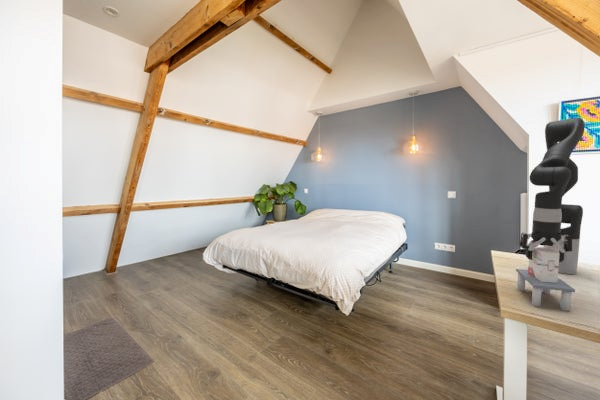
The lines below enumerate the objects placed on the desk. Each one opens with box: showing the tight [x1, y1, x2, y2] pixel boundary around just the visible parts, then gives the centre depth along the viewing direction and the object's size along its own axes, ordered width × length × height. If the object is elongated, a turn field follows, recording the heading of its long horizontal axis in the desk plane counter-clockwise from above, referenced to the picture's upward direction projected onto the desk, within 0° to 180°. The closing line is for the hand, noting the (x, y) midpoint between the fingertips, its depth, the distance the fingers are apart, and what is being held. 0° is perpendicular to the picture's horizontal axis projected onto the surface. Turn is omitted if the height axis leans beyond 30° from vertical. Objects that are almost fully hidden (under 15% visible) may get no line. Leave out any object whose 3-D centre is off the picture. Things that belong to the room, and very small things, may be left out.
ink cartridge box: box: [527, 244, 560, 283], centre depth 92 cm, size 9×5×15 cm, turn 165°
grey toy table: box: [515, 268, 576, 312], centre depth 93 cm, size 16×11×8 cm
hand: (543, 260), depth 92 cm, fingers open, 8 cm apart
